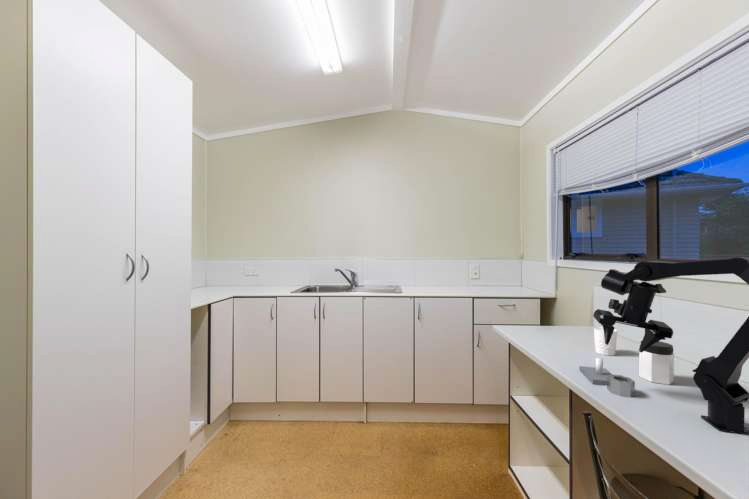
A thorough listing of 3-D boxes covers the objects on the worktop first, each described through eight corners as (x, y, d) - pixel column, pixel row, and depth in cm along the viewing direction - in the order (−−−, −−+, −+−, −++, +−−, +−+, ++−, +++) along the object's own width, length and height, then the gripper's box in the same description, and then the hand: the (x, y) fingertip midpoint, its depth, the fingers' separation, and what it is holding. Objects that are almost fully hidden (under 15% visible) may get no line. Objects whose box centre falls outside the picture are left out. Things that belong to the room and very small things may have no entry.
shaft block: (621, 387, 101) (621, 366, 101) (592, 384, 103) (592, 364, 103) (605, 372, 112) (605, 354, 112) (579, 370, 115) (579, 352, 114)
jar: (668, 387, 101) (668, 349, 101) (636, 378, 108) (636, 342, 108) (677, 380, 106) (677, 344, 106) (645, 372, 113) (646, 338, 113)
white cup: (615, 352, 135) (616, 328, 134) (618, 357, 128) (618, 332, 128) (593, 349, 139) (593, 326, 139) (594, 354, 132) (594, 329, 132)
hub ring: (637, 397, 94) (637, 384, 94) (613, 395, 95) (613, 381, 95) (627, 388, 100) (627, 375, 100) (604, 386, 101) (604, 373, 101)
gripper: (661, 298, 101) (645, 342, 105) (594, 286, 106) (581, 328, 110) (682, 312, 90) (663, 361, 94) (607, 298, 95) (592, 345, 99)
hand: (623, 347), depth 100 cm, fingers open, 9 cm apart
